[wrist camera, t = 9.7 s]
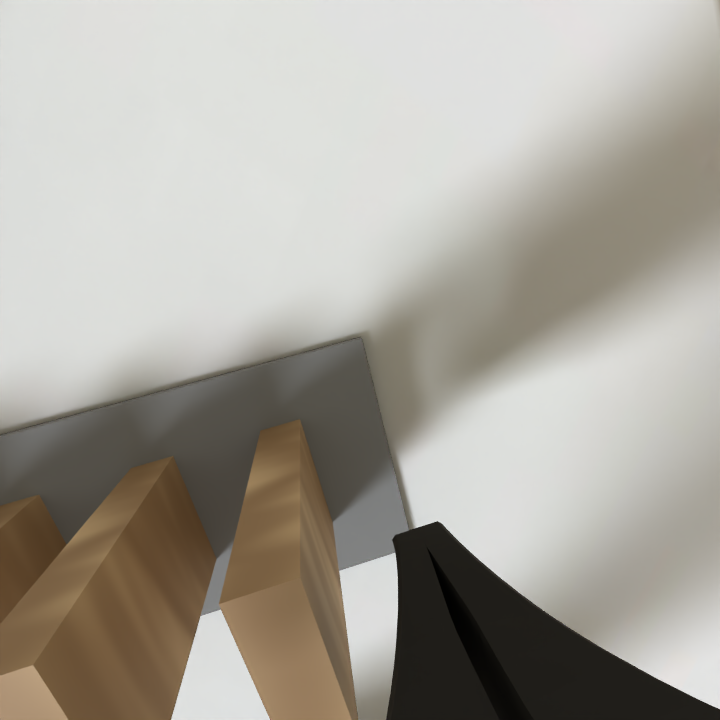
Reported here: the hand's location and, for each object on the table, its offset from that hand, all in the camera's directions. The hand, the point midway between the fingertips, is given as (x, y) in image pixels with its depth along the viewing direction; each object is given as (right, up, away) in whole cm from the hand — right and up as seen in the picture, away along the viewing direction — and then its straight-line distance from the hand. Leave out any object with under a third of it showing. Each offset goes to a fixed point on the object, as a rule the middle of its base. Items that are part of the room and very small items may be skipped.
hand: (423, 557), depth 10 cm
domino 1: (-4, +1, +5) cm, 7 cm away
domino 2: (-9, -1, +5) cm, 10 cm away
